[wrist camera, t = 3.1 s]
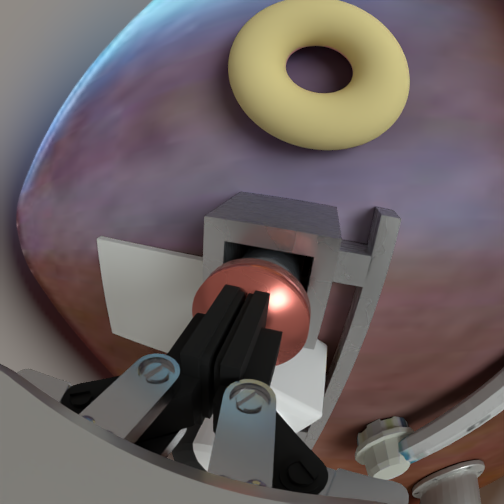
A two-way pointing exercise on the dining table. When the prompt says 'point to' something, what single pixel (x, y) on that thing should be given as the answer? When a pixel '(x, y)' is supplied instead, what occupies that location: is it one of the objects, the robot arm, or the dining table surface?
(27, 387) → the robot arm
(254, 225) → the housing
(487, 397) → the grey piece
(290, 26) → the donut
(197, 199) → the dining table surface
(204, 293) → the plunger
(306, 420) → the medicine bottle
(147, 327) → the mat
